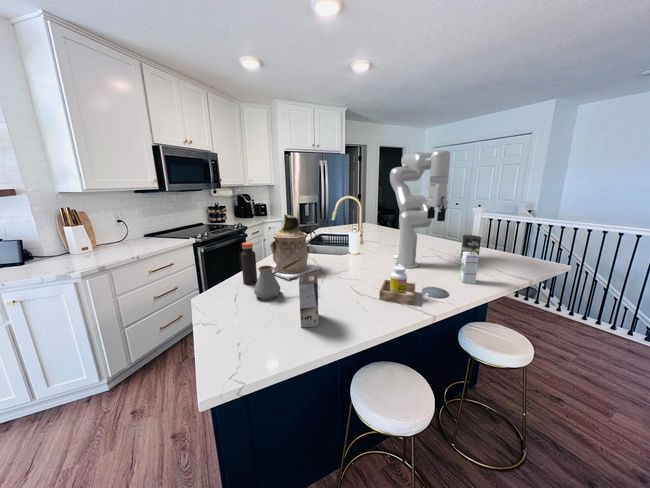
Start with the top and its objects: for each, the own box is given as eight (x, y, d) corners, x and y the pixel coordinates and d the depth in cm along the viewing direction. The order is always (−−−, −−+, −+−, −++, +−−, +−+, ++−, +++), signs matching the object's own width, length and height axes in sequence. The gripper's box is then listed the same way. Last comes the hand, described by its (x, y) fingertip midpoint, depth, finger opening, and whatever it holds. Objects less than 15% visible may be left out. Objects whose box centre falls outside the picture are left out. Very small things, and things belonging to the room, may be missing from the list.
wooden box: (379, 299, 108) (379, 290, 107) (384, 287, 120) (385, 279, 119) (412, 305, 103) (413, 295, 102) (414, 291, 115) (415, 283, 114)
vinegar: (240, 282, 128) (237, 243, 123) (252, 278, 133) (249, 241, 128) (248, 286, 124) (244, 245, 119) (260, 282, 129) (257, 243, 124)
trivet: (416, 292, 115) (416, 291, 115) (429, 285, 122) (429, 284, 122) (440, 300, 107) (440, 299, 107) (452, 293, 114) (453, 292, 114)
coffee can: (481, 261, 157) (484, 238, 153) (463, 260, 158) (465, 238, 155) (474, 256, 166) (477, 235, 163) (457, 255, 168) (460, 234, 165)
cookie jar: (321, 269, 146) (320, 213, 138) (287, 281, 129) (284, 218, 121) (293, 260, 162) (291, 209, 155) (259, 270, 145) (255, 214, 137)
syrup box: (475, 284, 123) (479, 255, 120) (462, 283, 124) (466, 254, 121) (471, 279, 129) (475, 251, 125) (458, 279, 130) (462, 251, 126)
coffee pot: (255, 303, 107) (252, 268, 103) (253, 292, 117) (250, 260, 113) (305, 295, 113) (304, 262, 110) (299, 285, 124) (297, 255, 120)
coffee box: (319, 326, 89) (318, 283, 85) (300, 327, 89) (298, 284, 85) (317, 313, 98) (316, 273, 94) (300, 314, 97) (299, 274, 94)
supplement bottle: (397, 300, 108) (398, 271, 104) (386, 294, 113) (387, 266, 110) (408, 297, 111) (411, 268, 107) (398, 291, 116) (399, 264, 113)
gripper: (422, 181, 121) (419, 217, 125) (439, 180, 104) (436, 222, 108) (437, 181, 122) (434, 217, 125) (457, 180, 105) (453, 222, 108)
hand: (435, 219), depth 117 cm, fingers open, 9 cm apart
